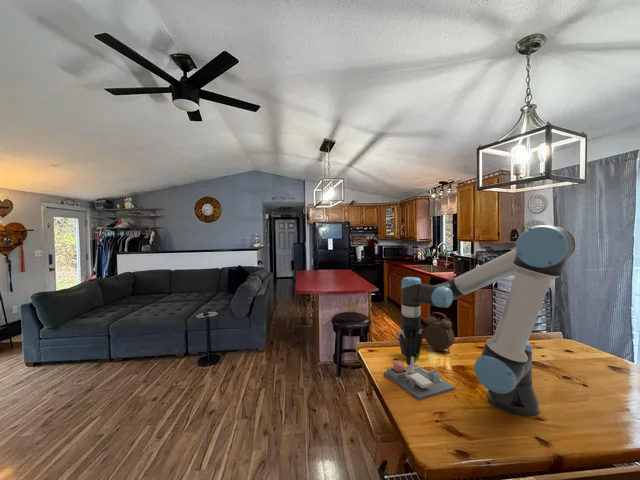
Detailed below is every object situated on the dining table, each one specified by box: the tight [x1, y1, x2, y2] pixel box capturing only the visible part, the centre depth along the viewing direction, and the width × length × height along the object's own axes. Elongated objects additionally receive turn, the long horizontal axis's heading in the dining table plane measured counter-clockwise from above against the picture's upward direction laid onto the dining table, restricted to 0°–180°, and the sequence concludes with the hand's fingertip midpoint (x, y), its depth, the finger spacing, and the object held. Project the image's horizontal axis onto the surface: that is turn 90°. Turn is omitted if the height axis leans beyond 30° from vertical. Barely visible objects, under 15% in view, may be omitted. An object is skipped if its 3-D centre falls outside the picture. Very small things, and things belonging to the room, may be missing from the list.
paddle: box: [405, 371, 433, 388], centre depth 114 cm, size 10×5×1 cm, turn 22°
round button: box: [392, 360, 405, 374], centre depth 122 cm, size 4×4×3 cm
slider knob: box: [427, 369, 440, 383], centre depth 117 cm, size 3×3×4 cm
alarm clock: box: [423, 311, 455, 354], centre depth 150 cm, size 14×7×20 cm, turn 36°
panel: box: [383, 364, 456, 401], centre depth 118 cm, size 22×18×4 cm
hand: (410, 371), depth 118 cm, fingers closed
